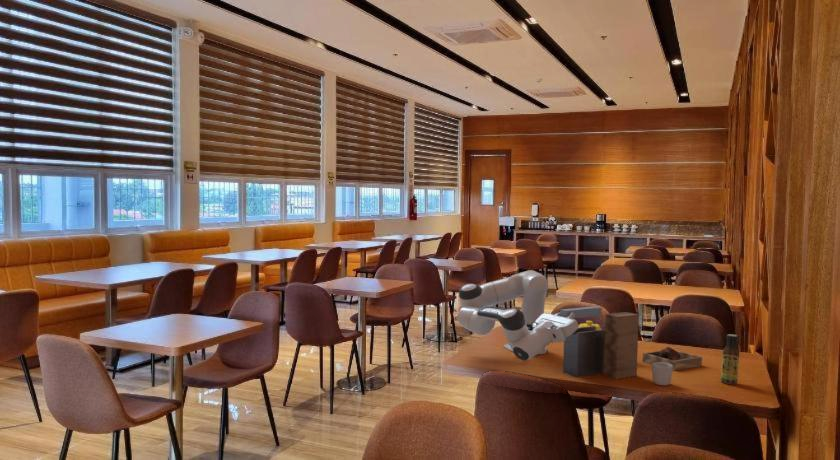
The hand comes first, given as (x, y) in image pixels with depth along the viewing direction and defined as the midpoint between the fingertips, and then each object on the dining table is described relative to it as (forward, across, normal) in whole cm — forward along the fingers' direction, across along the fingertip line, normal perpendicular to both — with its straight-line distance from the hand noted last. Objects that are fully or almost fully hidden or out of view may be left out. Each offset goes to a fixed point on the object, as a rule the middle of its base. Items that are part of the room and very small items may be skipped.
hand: (569, 312), depth 269 cm
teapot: (+30, -37, -49) cm, 68 cm away
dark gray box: (-4, -1, -28) cm, 29 cm away
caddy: (+36, +6, -52) cm, 64 cm away
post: (+4, +10, -33) cm, 35 cm away
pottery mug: (+36, +4, -52) cm, 63 cm away
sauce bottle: (+32, +38, -50) cm, 70 cm away
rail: (+5, 0, -5) cm, 7 cm away
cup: (+10, +25, -37) cm, 45 cm away
